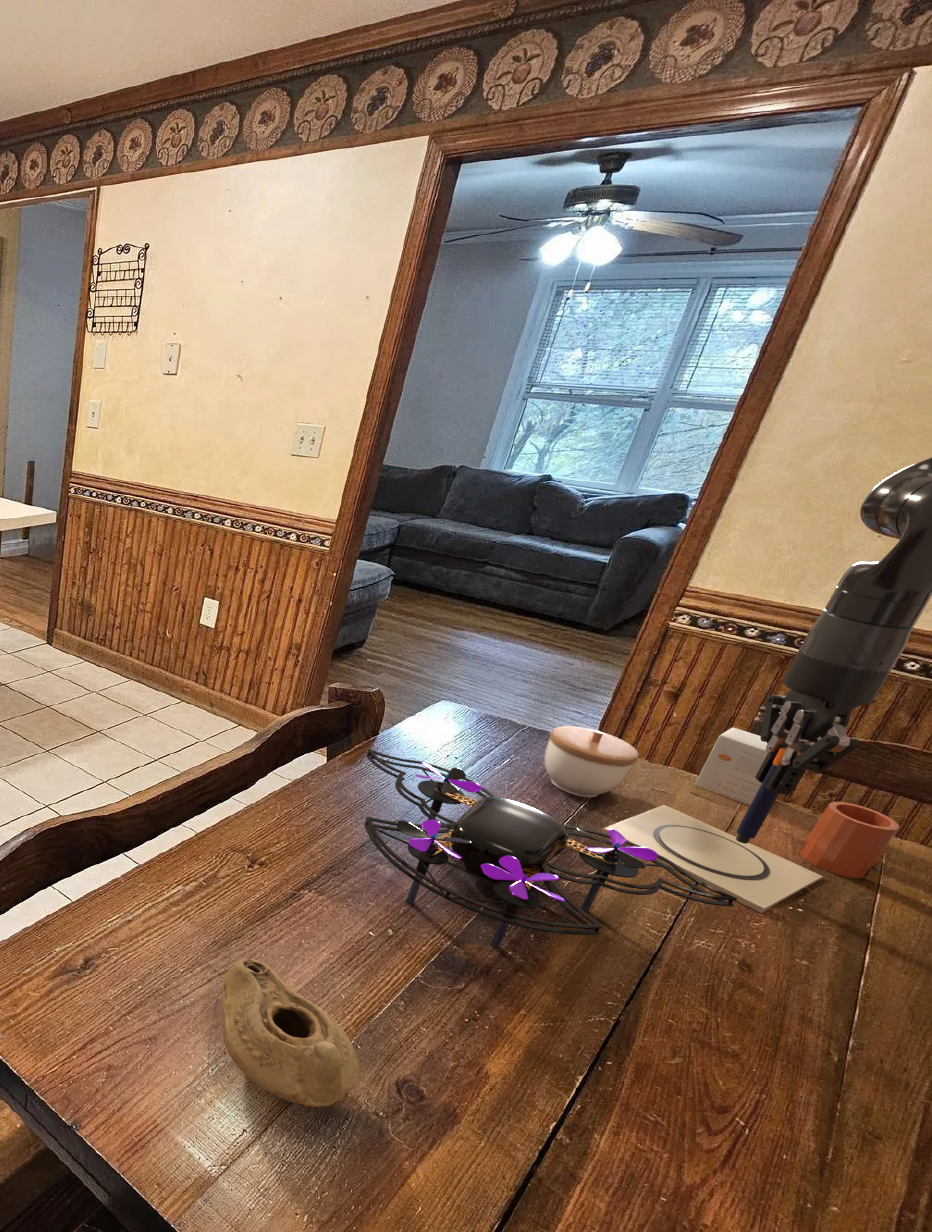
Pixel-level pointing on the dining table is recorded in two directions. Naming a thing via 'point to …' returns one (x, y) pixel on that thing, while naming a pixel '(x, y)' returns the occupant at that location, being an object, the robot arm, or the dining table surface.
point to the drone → (513, 852)
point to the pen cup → (848, 839)
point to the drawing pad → (716, 857)
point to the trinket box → (587, 760)
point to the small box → (734, 766)
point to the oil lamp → (285, 1038)
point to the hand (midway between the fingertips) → (771, 786)
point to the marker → (759, 805)
